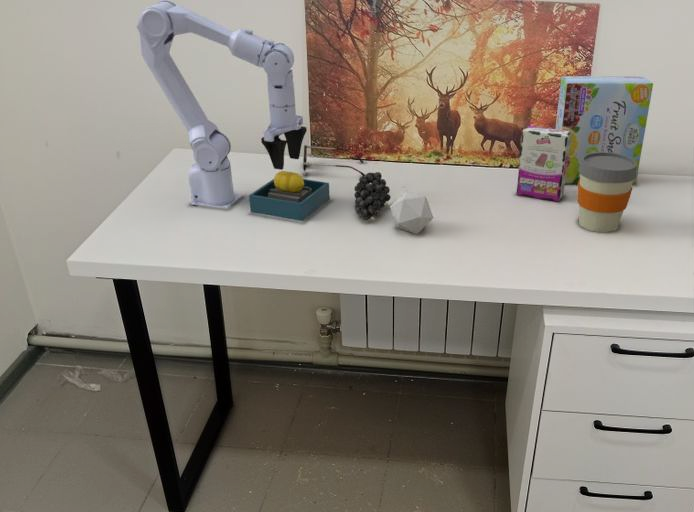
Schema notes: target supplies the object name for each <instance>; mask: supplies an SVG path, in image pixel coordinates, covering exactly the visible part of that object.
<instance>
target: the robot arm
mask: <svg viewBox="0 0 694 512" xmlns="http://www.w3.org/2000/svg"><path fill="white" fill-rule="evenodd" d="M136 29H137V31H138V33H139V40H140V41H139V42H140V53H141V56H142V58H143V60H144V62H145V64H146V65H147V67H148V69H149V70H150V72H151V73H152V75H153V76H154V79H155V80H156V82H157V83H158V85H159V86H160V88H161V90H162V91H163V93H164V95H165V96H166V98H167V100H168V101H169V103H170V104H171V107H172V108H173V110H174V111H175V113H176V114H177V116H178V118H179V119H180V121H181V123H182V124H183V126H184V128H185V129H186V131H187V134H188V143H189V146H190V147H191V149H192V152H193V160H194V161H195V163H193V164H192V165H191V166H190V168H189V170H188V180H189V181H188V182H189V188H190V194H191V202H190V205H191V206H200V205H201V206H207V207H208V206H209V207H216V208H226V209H227V208H229V207H230V206H232V205H233V204H234V203H235V202H236V201H237V200H239V199H240V198H241V197H242V194H241V195H240V194H235V192H234V191H235V190H234V182H233V174H232V166H231V165H232V164H231V161H230V159H229V158H228V155H229V154H230V152H231V149H232V144H231V141H230V138H229V137H228V136H227V135H225V134H224V133H223V132H222V131H221V130H220V129H219V128H218V126H217V124H215V123H214V122H213V121H210V120H209V118H208V116H207V115H206V113H205V111H204V110H203V108H202V107H201V105H200V103H199V101H198V100H197V98H196V97H195V95H194V93H193V91H192V89H191V88H190V86H189V84H188V83H187V81H186V80H185V78H184V76H183V74H182V73H181V71H180V69H179V67H178V66H177V64H176V62H175V61H174V59H173V57H172V55H171V54H170V51H171V47H172V45H173V41H174V38H175V36H181V35H184V34H191V33H192V34H194V35H196V36H199V37H202V38H204V39H208V40H209V41H212V42H215V43H217V44H219V45H222V46H225V47H227V48H228V50H229V51H230V53H231V55H232V56H233V57H236V58H238V59H240V60H242V61H245V62H247V63H250V64H252V65H254V66H256V67H258V68H263V71H264V72H265V73H266V77H267V85H266V86H267V97H268V107H269V108H268V109H269V119H270V123H269V125H268V126H267V128H266V130H265V131H263V133H262V134H263V137H261V139H260V140H261V141H260V142H261V144H262V145H263V146H264V149H266V151H267V154H268V155H269V159H270V161H271V164H272V167H273V169H275V170H281V171H283V170H284V167H285V151H286V147H287V152H288V157H289V159H292V160H299V159H300V155H301V149H302V144H303V140H304V137H305V136H306V133H307V132H308V130H307V129H308V128H307V127H306V126H303V125H304V116H303V115H299V114H298V115H297V111H296V96H295V95H296V93H295V83H294V74H293V69H292V67H293V66H294V63H295V56H294V52H293V50H292V49H291V48H290V47H289V46H288V45H286V44H285V43H283V42H277V43H275V41H274V40H273V39H265V38H263V37H261V36H259V35H256V34H254V33H253V32H254V30H253V29H250V28H246V29H244V28H239V29H237V30H235V31H233V30H230V29H229V28H227V27H225V26H223V25H222V24H219V23H218V22H215V21H213V20H211V19H209V18H207V17H205V16H203V15H201V14H199V13H197V12H195V11H193V10H192V9H190V8H188V7H187V6H184V5H181V4H176V3H175V2H173V1H171V0H161V1H158V2H157V3H156V4H154V5H152V6H147V7H145V8H144V9H143V10H142V11H141V12H140V15H139V18H138V20H137V24H136ZM282 135H284V138H285V140H284V139H281V138H280V136H282Z"/></svg>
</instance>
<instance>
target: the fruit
mask: <svg viewBox="0 0 694 512" xmlns="http://www.w3.org/2000/svg"><path fill="white" fill-rule="evenodd" d="M382 177H383V175H382V173H381V172H380V171H376V172H367V173H366V174H365V176H362V175H361V176H360V177H359V180H358V181H359V182H357V183H356V185H355V186H354V191H355V192H354V198H355V199H354V204H355V205H354V210H355V213H356V214H358V216H359V217H360V218H362V219H363V220H364V221H370V220H371V218H372V216H375V217H376V216H377V215H378V212H379V211H381V210H382V209H383V208H385V205H386V203H387V202H389V201H390V200H391V195H390V191H391V189H390V187H389V186H388V185H387V181H386V180H385V179H384V178H382Z"/></svg>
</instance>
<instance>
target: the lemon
mask: <svg viewBox="0 0 694 512" xmlns="http://www.w3.org/2000/svg"><path fill="white" fill-rule="evenodd" d="M273 179H274V184H275V186H276V188H277V189H278V190H280V191H286V192H293V193H297V192H299V191H301V190H302V188H303V186H304V180H303V179H304V178H303V176H302V175H301V174H299V173H297V172H292V171H285V170H281V171H278V172H277V173H276V174H275V175H274V178H273Z"/></svg>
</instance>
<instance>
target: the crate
mask: <svg viewBox="0 0 694 512" xmlns="http://www.w3.org/2000/svg"><path fill="white" fill-rule="evenodd" d="M303 180H304V187H310V188H312V194H311V195H310V196H308V197H307V198H306V199H304V200H303V201H302V202H300V203H299V202H293V201H287V200H281V199H275V198H269V197H268V193H269V192H270V189H275V188H276V186H275V184H274V178H272V179H271V180H269V181H268V182H267V183H265V184H264V185H262V186H261V187H259V188H258V189H256V190H255V191H253V192H252V193H250V194H249V195H248V202H249V209H250V213H255V214H258V215H259V214H260V215H264V216H265V215H266V216H271V217H277V218H283V219H287V220H288V219H289V220H295V221H300V222H303V221H304V220H305V219H307V218H308V217H309V216H310V215H312V214H313V213H314V212H315V211H317V210H318V209H319V208H321V207H322V206H323V205H324V204H326V203H327V202H328V201H329V200H330V198H331V196H330V182H325V181H320V180H313V179H306V178H303Z"/></svg>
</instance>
